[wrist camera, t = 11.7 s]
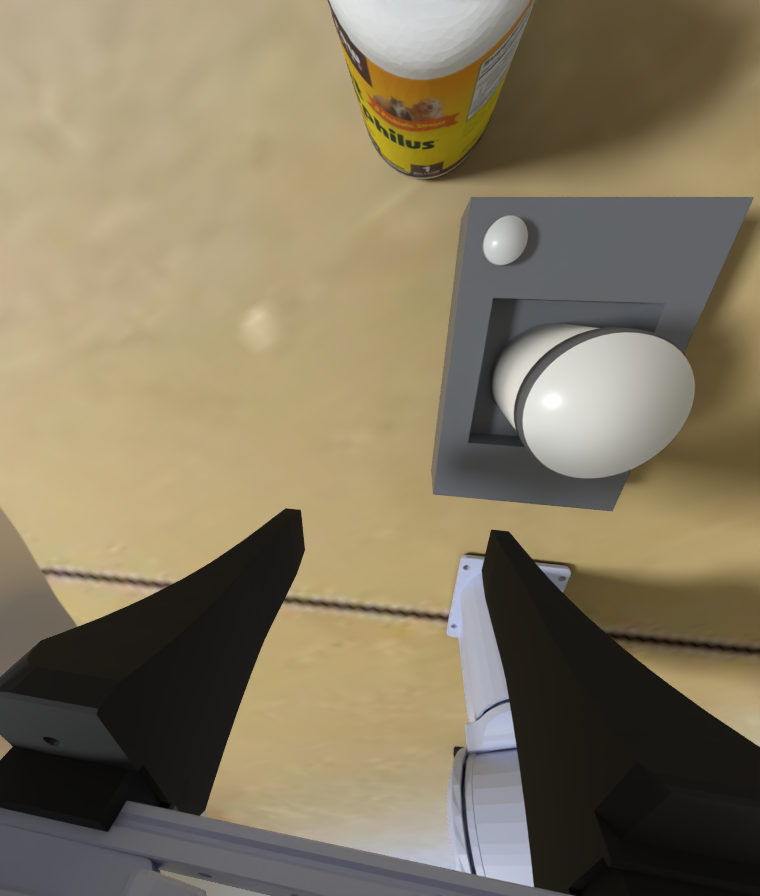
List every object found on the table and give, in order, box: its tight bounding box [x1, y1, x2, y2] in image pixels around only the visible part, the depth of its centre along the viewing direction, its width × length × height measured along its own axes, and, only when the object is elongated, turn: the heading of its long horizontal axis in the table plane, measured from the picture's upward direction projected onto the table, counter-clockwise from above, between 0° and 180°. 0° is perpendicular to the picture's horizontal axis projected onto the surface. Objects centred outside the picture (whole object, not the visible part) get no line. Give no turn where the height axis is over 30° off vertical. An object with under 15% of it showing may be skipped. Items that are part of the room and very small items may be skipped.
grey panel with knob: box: [431, 197, 754, 511], centre depth 15 cm, size 14×10×4 cm
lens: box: [490, 323, 695, 478], centre depth 13 cm, size 5×5×6 cm
